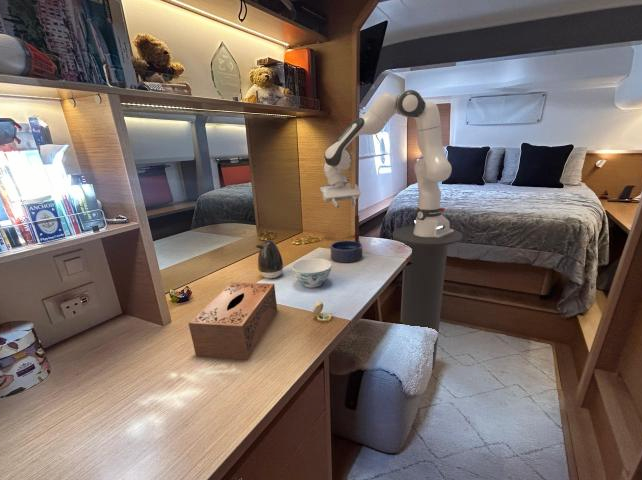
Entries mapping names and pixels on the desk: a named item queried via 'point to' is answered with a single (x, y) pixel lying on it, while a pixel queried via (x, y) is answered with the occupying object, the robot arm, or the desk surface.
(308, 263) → the chinaware
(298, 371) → the desk surface
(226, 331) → the tissue box cover
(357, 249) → the bowl
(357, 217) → the stirring stick
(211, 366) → the desk surface
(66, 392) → the desk surface
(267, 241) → the pump dispenser
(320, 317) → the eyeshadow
